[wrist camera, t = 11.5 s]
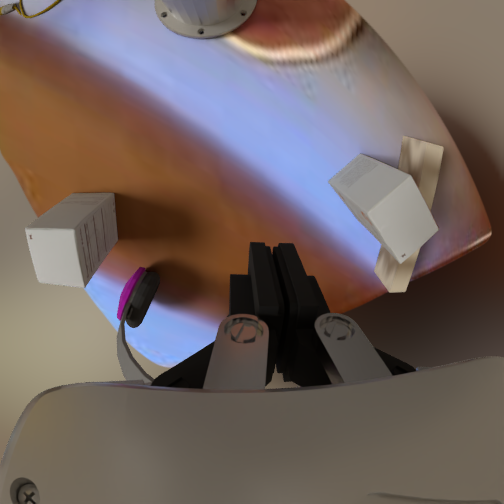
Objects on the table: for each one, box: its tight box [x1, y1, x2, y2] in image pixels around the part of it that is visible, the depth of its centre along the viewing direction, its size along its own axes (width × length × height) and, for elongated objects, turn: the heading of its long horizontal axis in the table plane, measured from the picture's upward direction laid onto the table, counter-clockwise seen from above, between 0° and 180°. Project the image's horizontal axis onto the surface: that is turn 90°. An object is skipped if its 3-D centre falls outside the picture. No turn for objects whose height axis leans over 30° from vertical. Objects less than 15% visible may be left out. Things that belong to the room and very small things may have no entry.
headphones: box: [117, 267, 229, 383], centre depth 36 cm, size 21×9×20 cm, turn 61°
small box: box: [328, 154, 439, 264], centre depth 32 cm, size 8×6×13 cm
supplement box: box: [25, 193, 118, 288], centre depth 32 cm, size 7×7×13 cm
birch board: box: [374, 136, 444, 292], centre depth 37 cm, size 22×3×6 cm, turn 176°
